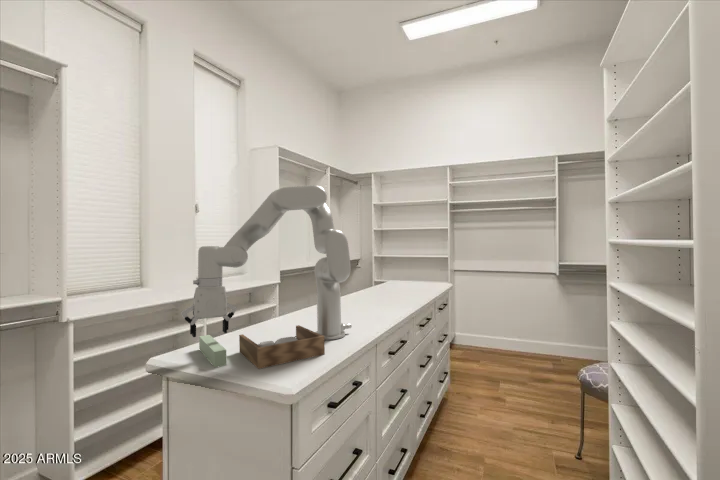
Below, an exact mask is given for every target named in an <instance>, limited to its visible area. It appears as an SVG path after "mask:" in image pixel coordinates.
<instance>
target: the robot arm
mask: <svg viewBox="0 0 720 480" xmlns="http://www.w3.org/2000/svg"><path fill="white" fill-rule="evenodd" d="M327 198H328V195H327V192H326V190H325V189H324V188H323V187H322V186H320V185H317V184H316V185H315V184H314V185H300V186H299V185H298V186H286V187H281V188H278V189H275V190H274V191H272V192H271V193H270V194H269V195H268V196H267V197H266V199H265V200H264V201H263V202H262V203H261V204H260V206H259V207H258V208H257V209H256V210H255V212H253V213H252V214H251V216H250V217H249V219H247V220H246V221H245V223H244V224H243V225H242V226H241V227H240V228H238V230H237V231H236V232H235V233H234V234H233V236H232V237H230V239H229V240H228V241H227V242H226V243H225V245H224V246H217V245H216V246H212V245H211V246H210V245H207V246H206V245H205V246H200V247H199V249H198V252H197V253H198V254H197V256H198V257H197V259H198V260H197V278H196V279H193V280H192V283H193V285H195V286H197V287H195V289H194V295H193V303H192V305H191V306H189V307H187V308H186V309H183V310H182V311H181V312H180V314H181V316H182V317H183V319H184V321H186V323H188V324H189V334H190V335H191V336H192V338H196V337H197V325H196V322H198V320H201V319H202V320H203V319H213V318H221V317H222V318H223V320H222V332H223V333H224V334H227V332H228V330H229V321H230V320H231V319H232V317H233V316H234V315H235V312H237V309H238V307H237V306H236V305H232V304H231V303H228V299H227V298H228V297H227V291H226V286H224V285H223V267H226V268H240V267H243V266H244V265H245V264H246V263H247V261H248V257H249V255H248V250H250V248H251V247H252V246H253V245H254V244H255V243H257V242H258V241H260V240H261V239H263V238H264V237H266V236H267V235H268V234H269V233H271V231H273V229H274V227H276V225H277V223H278V222H279V221H280V220H281V219H282V218H283V216H284V215H285V214H286V213H287V212H289V211H298V210H300V211H301V210H302V211H304V212H305V213H306V214H307V215H308V216H309V218H310V222H311V225H312V234H313V243H314V244H313V245H314V248H315V250H316V251H317V252H318V253H319V254H323V255H324V254H325V255H326V256H325V257H321V258H320V259H319V260H317V261H316V263H315V266H314V270H313V271H314V278H315V285H316V312H317V313H316V317H317V319H316V323H317V329H316V330H317V331H315V332H316V333H318V334H320V335H323V336H324V341H326V340H327V341H331V340H332V341H333V340H337V339H341V338H344V337H345V336H346V332H345V330H347V329H351V328H352V323H342V304H341V303H342V302H341V299H342V298H341V296H342V293H341V285H340V283H344V282H345V281H347V280H348V278H349V277H350V275H351V271H352V270H351V257H350V249H349V248H350V247H349V241H348V239H347V236H346V235H345V233H344V232H343V231H341V230H339V229H335V225H334V224H335V223H334V219H333V215H332V212H331V209H330V208H329V207H328V204H326V202H327V200H328V199H327ZM228 308H229V309H230V312H229V313H228ZM191 312H192V315H193V316H192V317H191V318H190V317H189V316H188V314H189V313H191Z"/></svg>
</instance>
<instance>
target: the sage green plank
mask: <svg viewBox="0 0 720 480" xmlns="http://www.w3.org/2000/svg"><path fill="white" fill-rule="evenodd" d="M198 339H199V340H198V343H199V344H198V345H199V346H198V349H200V350H201V351H200V350H199V351H200V352H201V354H203V356H204V355H205V356H206V357H207V358H206V357H205V356H204V357H205V358H206V359H207V361H208V362H211V363H212V364H213V365H212V364H211V363H210V364H211V365H212V367H214V368H219V367H223V366H227V349H226V348H225V347H224V346H223V345H222V344H220V343H219V342H218V341H217V340H216V339H215V338H214V337H213V336H212V335H210V334H205V335H200V336H199V337H198ZM218 366H219V367H218Z"/></svg>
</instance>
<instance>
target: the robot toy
mask: <svg viewBox="0 0 720 480" xmlns="http://www.w3.org/2000/svg"><path fill="white" fill-rule="evenodd" d="M296 337H297V336H296V335H295V336H287V337H280V338H277V339H276V340H275V341H273V340H265V341H262V342H259V343H256V344H257V345H259V346H260V347H265V346H270V345H275V344H280V343H286V342H291V341H296V340H298V339H297V338H296Z"/></svg>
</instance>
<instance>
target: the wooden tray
mask: <svg viewBox="0 0 720 480" xmlns="http://www.w3.org/2000/svg"><path fill="white" fill-rule="evenodd" d="M238 336H239V340H238V341H239V345H238V347H239V353H240V354H241V355H242V356H244V357H245V358H246V359H247V360H248V361H249V362H250V363H251V364H252V365H253V366H255V367H256V368H257V369H258V370H260V369H264V368H269V367H274V366H278V365H282V364H283V365H284V364H287V363H291V362H295V361H300V360H304V359H308V358H314V357H318V356H322V355H325V353H326V352H325V348H326V347H325V340H324V336H323V335H320V334H318V333H316V331H314V330H311V329H308V328H306V327H304V326H301V325H295V336H297V337H295V338H297V339H298V340H296V341H291V342H286V343H280V344H275V345H270V346H265V347H260V346H259V345H257V344H258V343H256V342H255V341H253V340H251V338H249V337H247V336H246V335H244V334H239V335H238Z"/></svg>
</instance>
